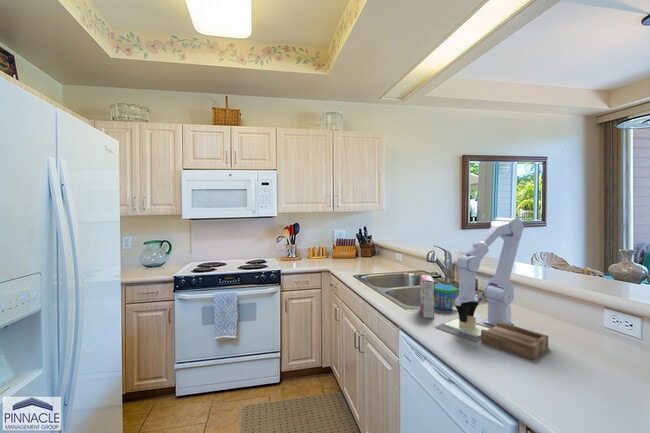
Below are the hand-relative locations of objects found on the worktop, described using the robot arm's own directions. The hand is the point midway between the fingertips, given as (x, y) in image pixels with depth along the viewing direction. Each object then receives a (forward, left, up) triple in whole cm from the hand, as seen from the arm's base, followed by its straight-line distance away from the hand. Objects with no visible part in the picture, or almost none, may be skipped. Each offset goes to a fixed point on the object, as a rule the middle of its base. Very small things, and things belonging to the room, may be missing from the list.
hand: (466, 320), depth 118 cm
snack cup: (-16, -19, -4) cm, 25 cm away
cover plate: (0, 0, -3) cm, 3 cm away
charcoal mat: (0, 0, -3) cm, 3 cm away
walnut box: (0, +17, -3) cm, 17 cm away
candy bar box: (-2, -19, -4) cm, 19 cm away
